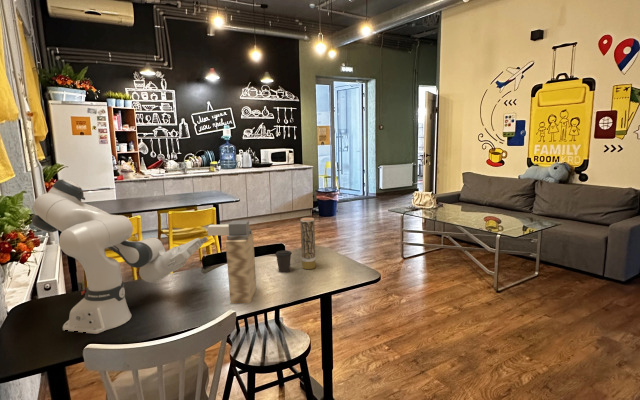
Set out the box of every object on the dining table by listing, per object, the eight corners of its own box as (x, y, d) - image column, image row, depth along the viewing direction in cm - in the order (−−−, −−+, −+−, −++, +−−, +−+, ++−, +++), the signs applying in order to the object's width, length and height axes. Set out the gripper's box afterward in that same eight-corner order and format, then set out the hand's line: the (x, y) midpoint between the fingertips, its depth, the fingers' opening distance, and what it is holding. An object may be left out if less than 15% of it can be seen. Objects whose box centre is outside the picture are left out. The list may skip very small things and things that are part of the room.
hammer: (207, 239, 155) (206, 224, 154) (211, 235, 161) (210, 221, 159) (246, 238, 154) (245, 224, 153) (249, 234, 160) (248, 220, 159)
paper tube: (314, 270, 189) (312, 220, 184) (300, 269, 190) (298, 220, 186) (316, 265, 196) (315, 217, 191) (304, 264, 197) (302, 217, 192)
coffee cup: (272, 271, 189) (271, 251, 187) (284, 266, 195) (284, 247, 193) (283, 275, 184) (282, 255, 182) (295, 270, 190) (295, 250, 188)
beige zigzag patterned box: (230, 303, 156) (225, 238, 150) (238, 289, 169) (234, 228, 164) (250, 303, 155) (245, 237, 150) (256, 288, 169) (252, 228, 164)
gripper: (161, 260, 149) (190, 243, 148) (180, 244, 169) (206, 228, 168) (170, 273, 150) (199, 256, 149) (188, 256, 170) (214, 240, 169)
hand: (203, 241), depth 158 cm, fingers open, 8 cm apart
